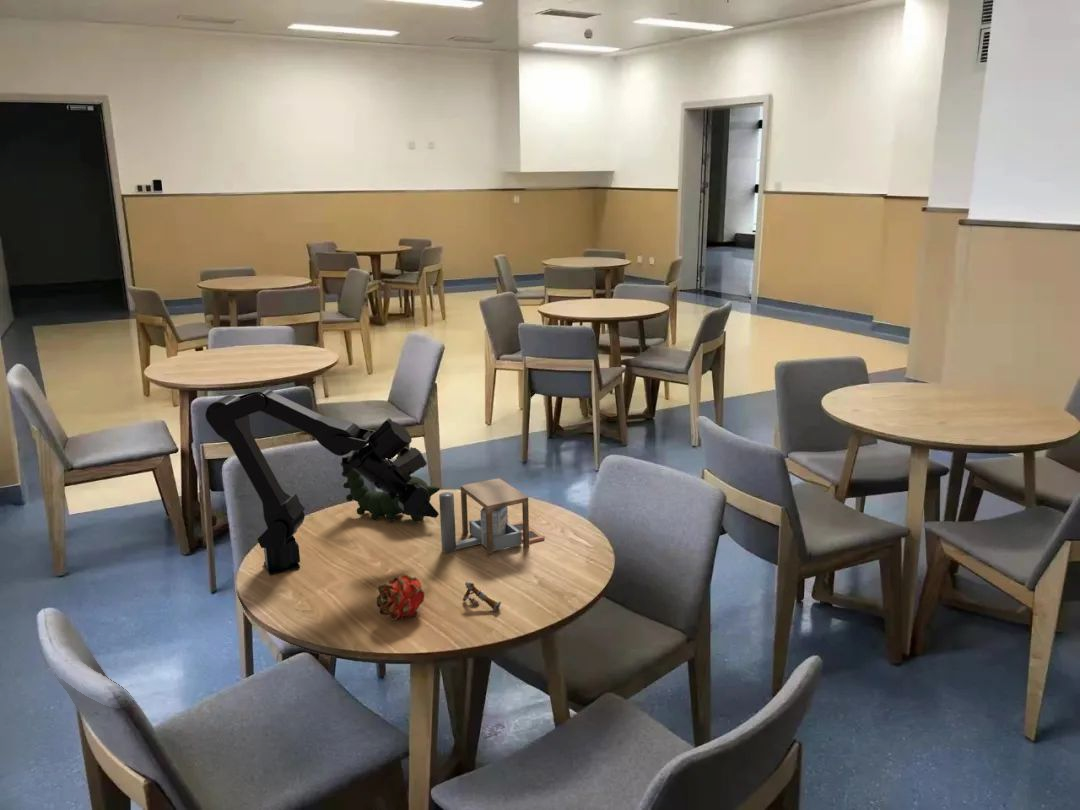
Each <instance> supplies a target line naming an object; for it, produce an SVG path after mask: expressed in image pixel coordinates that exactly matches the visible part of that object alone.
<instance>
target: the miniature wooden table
mask: <svg viewBox="0 0 1080 810" xmlns="http://www.w3.org/2000/svg"><path fill="white" fill-rule="evenodd" d="M468 497H469V498H471V499H472V500H474V501H475V502H476V503H478V504H479V505H480V506H481V507H482V508H483V507H484V508H485V509H486V533H487V547H486V552H487V556H488V557H489V558H490V557H494V551H493V532H492V509H496V508H501V507H506V506H507V507H509V506H514V505H519V504H521V505H522V507H521V509H522V510H521V511H522V521H523V542H522V544H523V548H524V547H525V548H524V549H528V548H530V543H529V526H530V524H529V523H530V521H529V520H530V519H529V518H530V517H529V514H530V513H529V497H528V496H527V495H525V494H524V493H522V492H521V491H519V490H518V489H516V488H515V487H513V486H512V485H511V484H509V483H507V482H506V481H504V480H502V478H500V477H498V478H497V477H496V478H494V479H489V480H483V481H478V482H472V483H468V484H462V485H460V501H461V503H460V504H461V526H462V529H461V530H462V535H464V536H465V535H469V521H468V519H469V517H468V500H467V499H468ZM527 547H528V548H527Z"/></svg>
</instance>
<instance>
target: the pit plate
mask: <svg viewBox="0 0 1080 810" xmlns="http://www.w3.org/2000/svg"><path fill="white" fill-rule="evenodd" d="M510 524H511V525H513V526H514V527H515V528H517V529H518V530H519V531H521V536H522V543H523V520H522V521H518V522H512V523H510ZM543 539H544V540H545V536H543V535H542V534H541V533H539V532H538V531H536V530H535V529H534V528H533V527H531V526H530V525H529V544H533V543H536V542H535V541H537V542H540V540H541V541H544V540H543Z"/></svg>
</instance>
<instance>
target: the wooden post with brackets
mask: <svg viewBox="0 0 1080 810" xmlns="http://www.w3.org/2000/svg"><path fill="white" fill-rule="evenodd" d="M464 585H465V588H466V589H467V590H466V592H465V594H463V597H462V601H463V602H466V601H467V600H468V601H469V602H470V603H469V604H471V605H472V606H473V607H475V606H476V607H479V606H480V603H479V600H477V599H475V597H477V598H478V599H480V600H481V601H482V602H484V603H486V604H487V605H488V606H489V607H490V608H491V609H492V612H493V613H495V612H496V611H497V610H498V609H500V606H501V604H502V601H501V600H500V601H495V600H493V599H492V598H490V597H488V595H487V594H485V593H484V592H483V591H482V590H479V589H478V588H477V587H476V585H475V584H474V583H473V582H471V581H469V582H468V581H467V582H465V584H464ZM472 594H474V595H476V596H475V597H473V598H472V597H469V596H470V595H472Z"/></svg>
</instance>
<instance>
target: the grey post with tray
mask: <svg viewBox="0 0 1080 810" xmlns="http://www.w3.org/2000/svg"><path fill="white" fill-rule="evenodd" d="M438 502H439V518H440V538H441V539H440V541H441V551H442V552H444V553H453V552H455V551H457V550H458V549H462V548H467V547H472V546H476V545H480V544H481V545H482V535H481V518H477V519H473V520H472V519H471V520H469V521H468V530H469V534H470V535H471V536H472V537H471V538H467V539H462V540H459V541H456V540H457V538H456V536H457V535H456V518H455V515H456V514H455V495H454V493H452V492H447V491H445V492H441V493H440V494H439V501H438ZM511 524H512V523H510V522H509V521H508V522H507V523H506V532H507V534H504V535H500V536H496V537H493V552H495V551H500V550H504V549H508V548H513V547H516V546H521V545H522V544H523V542H522V536H521V531H519V530H518V529H517V528H515V527H514V526H513V525H511ZM483 539H484V545H483V546H484V547H486V548H487V533H483Z"/></svg>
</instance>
